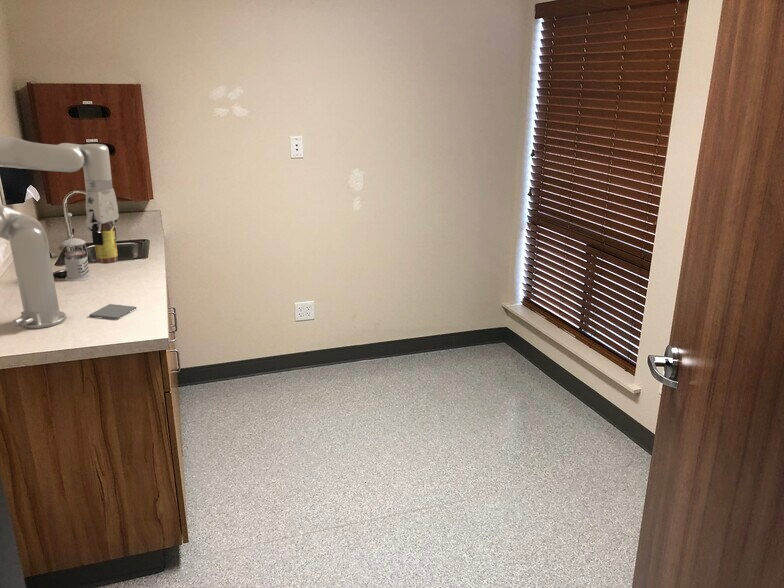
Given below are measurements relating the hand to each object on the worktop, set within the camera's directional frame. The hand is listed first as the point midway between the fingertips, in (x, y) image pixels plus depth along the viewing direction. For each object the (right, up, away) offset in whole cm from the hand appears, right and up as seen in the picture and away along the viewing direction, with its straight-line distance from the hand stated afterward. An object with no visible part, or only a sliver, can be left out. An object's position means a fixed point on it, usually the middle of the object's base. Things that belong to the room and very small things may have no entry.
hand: (105, 241), depth 189 cm
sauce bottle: (0, -6, +2) cm, 7 cm away
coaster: (+1, -23, +5) cm, 23 cm away
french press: (-28, -10, +39) cm, 50 cm away
